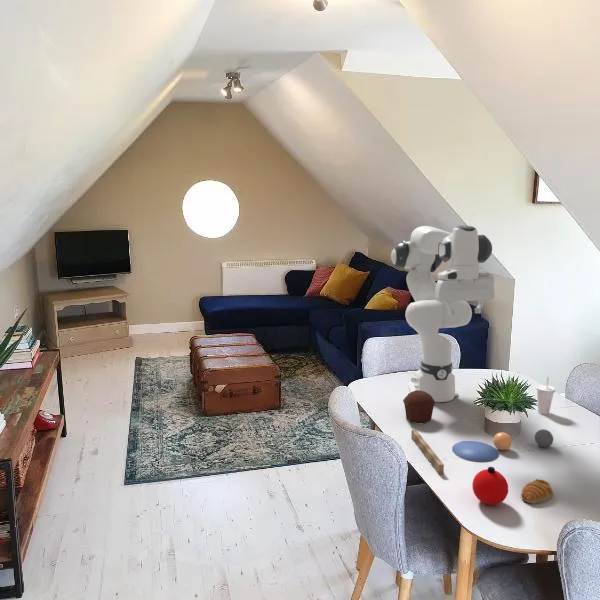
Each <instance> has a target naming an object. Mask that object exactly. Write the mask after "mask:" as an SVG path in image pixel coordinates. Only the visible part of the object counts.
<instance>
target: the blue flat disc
mask: <svg viewBox="0 0 600 600" xmlns="http://www.w3.org/2000/svg"><path fill="white" fill-rule="evenodd" d="M451 448H452V452H453V454H454V453H455V454H454V455H455V456H457V457H458V456H459V458H460V457H461V459H463V460H465V459H466V461H470V462H474V461H475V463H488V462H492V461H495V460H496V459H497V458H498V457H499V451H498V450H497V448H496V447H494V446H493V445H490V444H488V443H486V442H482V441H476V440H463V441H458V442H456V443H455V444H453V445H452V447H451Z"/></svg>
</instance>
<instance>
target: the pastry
mask: <svg viewBox="0 0 600 600" xmlns="http://www.w3.org/2000/svg"><path fill="white" fill-rule="evenodd" d="M520 496H521V497H520V498H521V500H522V501H524V502H526V503H529V504H532V505H535V504H540V503H544V502H547V501H548V500H550V499H551V498H552V497H553V496H555V492H554V490H553V488H552V486H551V484H550V483H549V482H548V481H546V480H544V479H539V478H537V479H534V480H533V481H530V482H528V483H527V484H526V485H524V487H523V488H522V491H521V495H520Z"/></svg>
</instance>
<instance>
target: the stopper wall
mask: <svg viewBox="0 0 600 600" xmlns="http://www.w3.org/2000/svg"><path fill="white" fill-rule="evenodd" d="M410 437H411V440H412V441H413V442H415V443H414V444H415V445H416V447H417V446H418V447H417V448H418V450H421V451H420V452H421V453H422V455H423V456H424V457H425V459H426V460H427V459H428V460H427V461H428V462H429V464H430V463H431V464H430V466H432V468H433V469H434V470H435V472H436V474H438V475H444V467H445V464H444V463H443V462H442V460H441V459H440V458H439V456H438V455H437V454H436V453H435V451H433V449H432V447H430V445H429V444H428V443H427V442H426V440H425V439H424V438H423V436H422V435H421V433H420V432H419V431H418V430H417V429H411V435H410Z"/></svg>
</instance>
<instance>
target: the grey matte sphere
mask: <svg viewBox="0 0 600 600" xmlns="http://www.w3.org/2000/svg"><path fill="white" fill-rule="evenodd" d="M534 441H535V443H536V444H537V445H538V446H539V447H541V448H548V447H550V446H552V444H553V443H554V436H553V434H552V432H551V431H549V430H548V429H539V430H538V431H536V432H535V434H534Z"/></svg>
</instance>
